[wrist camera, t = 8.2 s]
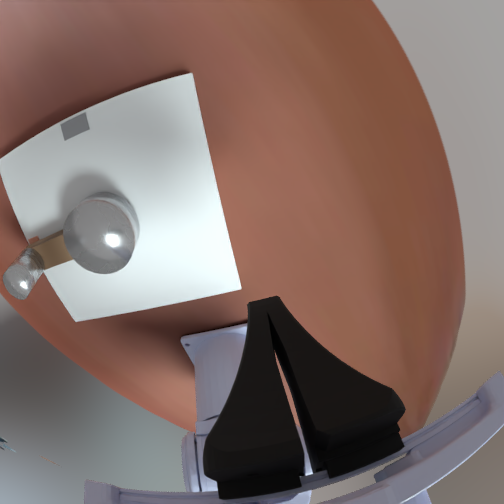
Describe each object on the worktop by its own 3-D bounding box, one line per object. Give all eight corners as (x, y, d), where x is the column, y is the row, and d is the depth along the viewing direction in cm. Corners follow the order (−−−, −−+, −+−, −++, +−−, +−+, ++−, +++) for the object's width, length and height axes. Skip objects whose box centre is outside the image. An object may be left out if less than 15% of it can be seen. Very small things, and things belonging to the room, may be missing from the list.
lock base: (239, 279, 22) (241, 289, 21) (79, 313, 22) (75, 322, 21) (192, 74, 14) (191, 72, 13) (5, 157, 13) (-4, 161, 12)
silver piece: (123, 181, 15) (101, 206, 12) (150, 247, 18) (140, 285, 14) (16, 231, 15) (-11, 260, 11) (45, 281, 18) (25, 315, 14)
